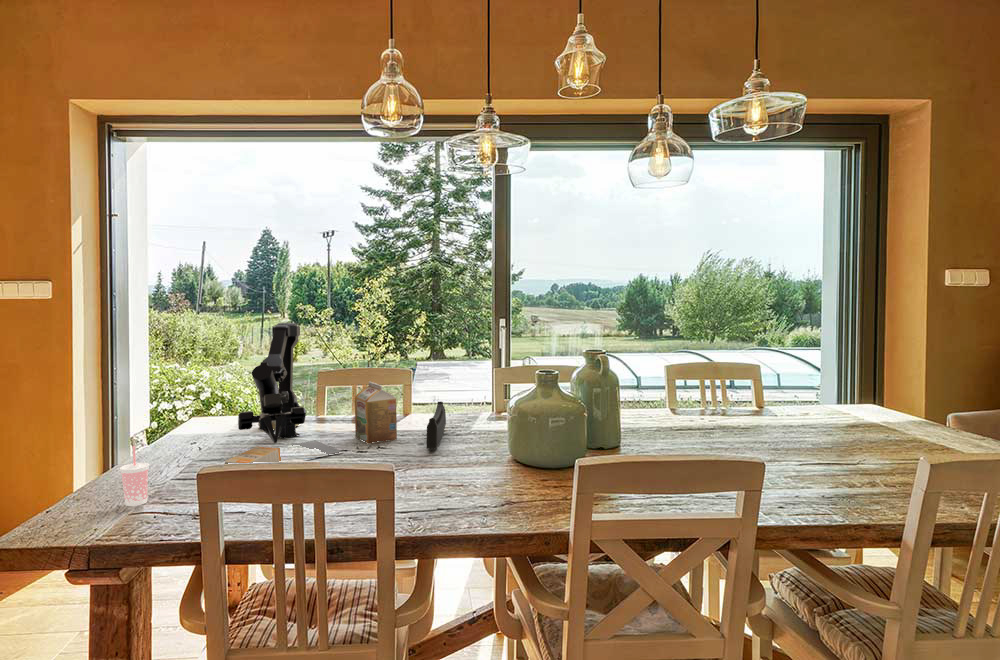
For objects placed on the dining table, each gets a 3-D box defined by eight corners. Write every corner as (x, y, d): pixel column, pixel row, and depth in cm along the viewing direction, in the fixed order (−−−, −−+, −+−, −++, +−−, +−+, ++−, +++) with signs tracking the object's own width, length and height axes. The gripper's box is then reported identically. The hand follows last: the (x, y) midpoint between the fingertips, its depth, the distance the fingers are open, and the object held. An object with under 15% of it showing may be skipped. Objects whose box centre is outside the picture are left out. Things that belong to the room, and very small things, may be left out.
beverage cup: (147, 505, 145) (144, 448, 143) (117, 508, 143) (115, 450, 142) (153, 497, 150) (151, 441, 149) (125, 499, 149) (123, 443, 148)
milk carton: (396, 439, 207) (396, 384, 205) (367, 444, 201) (366, 387, 199) (384, 433, 215) (383, 380, 214) (355, 437, 209) (354, 382, 208)
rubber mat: (238, 456, 186) (238, 454, 186) (315, 441, 203) (315, 440, 203) (262, 469, 172) (262, 467, 172) (342, 453, 189) (342, 451, 189)
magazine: (435, 426, 187) (444, 383, 215) (424, 426, 187) (435, 383, 215) (437, 473, 193) (446, 425, 221) (427, 473, 193) (437, 425, 221)
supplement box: (280, 447, 175) (248, 462, 163) (281, 463, 176) (250, 480, 163) (256, 445, 178) (223, 460, 165) (258, 461, 178) (225, 477, 166)
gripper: (237, 385, 176) (241, 430, 167) (304, 380, 185) (311, 423, 176) (236, 407, 184) (240, 451, 175) (300, 401, 192) (307, 444, 183)
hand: (275, 442), depth 177 cm, fingers closed
